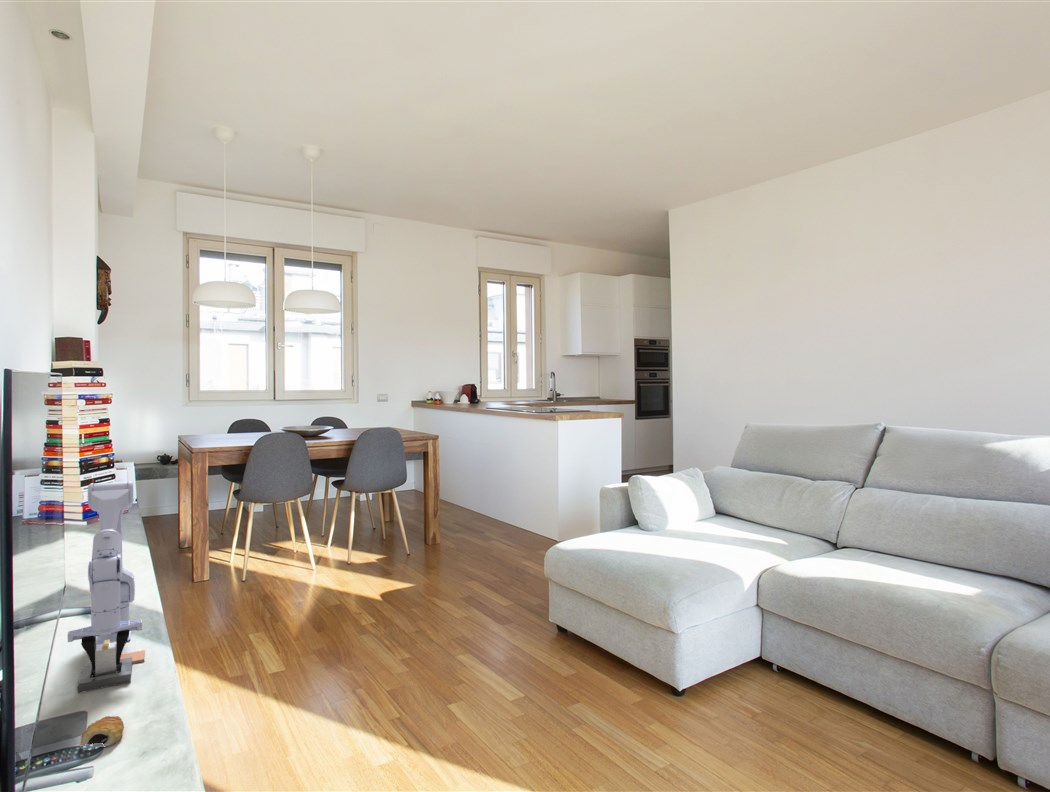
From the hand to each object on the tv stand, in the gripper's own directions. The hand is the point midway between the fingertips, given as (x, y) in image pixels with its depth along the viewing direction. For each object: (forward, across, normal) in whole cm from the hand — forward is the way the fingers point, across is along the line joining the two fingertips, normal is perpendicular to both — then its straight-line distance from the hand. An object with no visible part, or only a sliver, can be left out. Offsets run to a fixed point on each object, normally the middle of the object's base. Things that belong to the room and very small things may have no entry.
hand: (106, 665), depth 147 cm
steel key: (+2, 0, 0) cm, 2 cm away
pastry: (+4, +1, -29) cm, 29 cm away
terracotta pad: (+3, +4, +9) cm, 11 cm away
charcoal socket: (+3, 0, 0) cm, 3 cm away
